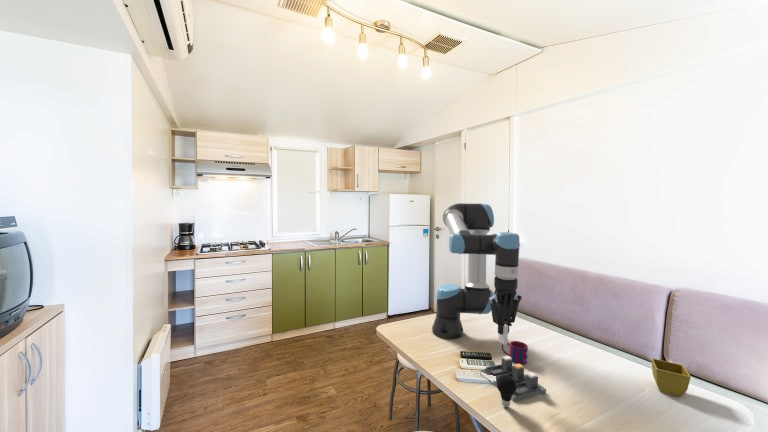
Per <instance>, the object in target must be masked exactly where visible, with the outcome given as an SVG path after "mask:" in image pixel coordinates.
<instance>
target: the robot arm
mask: <svg viewBox="0 0 768 432" xmlns="http://www.w3.org/2000/svg"><path fill="white" fill-rule="evenodd" d="M494 215H495V214H494V211H493V209H492V207H491V205H489V204H488V203H462V202H461V203H459V202H458V203H455V204H454V203H453V204H452V205H450V206H448V207H447V208H446V209H445V210H444V212H443V214H442V221H443V224H444V225H445V227H446V228H448V232H449V237H448V249H449V252H450V253H451V254H458V255H468V258H467V259H468V262H467V267H468V268H467V272H468V273H467V282H466V283H465V285H464V288H462V287H461V285H460V284H459V285H458V284H444V285H441V286H439V287H438V288H437V290H436V297H435V298H436V309H435V311H436V312H435V314H436V315H435V318H434V320H433V324H432V328H431V329H432V330H431V333H432V334H433V335H434V336H436V337H439V338H442V339H445V340H447V339H448V340H456V339H460V338H462V337H463V336H464V328H463V324H462V321H461V314H476V315H487V314H490V313H491V315H492V322H493V323H494V324H496V325H497V334H498V342H500V343H501V345H502V344H503V345H508V344H507V342H508V335H509V333H510V327H512V326H513V324H514V323H515V322H516V321H515V320H516V317H517V313H518V309H519V306H520V302H521V300H522V296H521V295H519V294H517V289H518V275H519V260H520V259H519V258H520V247H521V244H520V236H519V234H518V233H515V232H514V233H513V232H503V231H502V232H498V233H491V234H488V233H489V232H490V231H491V229H490V228H493V227H494V224H495V216H494ZM487 255H488V256H489V255H493V256H495V259H494V261H495V262H494V275H495V276H494V280H493V283H494V284H493V285H494V288H495V289H494V292H493V290H491V289H490V286H489V284H488V283H487Z"/></svg>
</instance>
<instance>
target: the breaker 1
mask: <svg viewBox="0 0 768 432" xmlns="http://www.w3.org/2000/svg"><path fill="white" fill-rule="evenodd" d="M500 364H501V368H503V369H504V370H510V369H512V366H513V360H512V358H511V357H509V356H508V355H505V356H502V357H501V363H500Z"/></svg>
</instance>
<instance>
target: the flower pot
mask: <svg viewBox="0 0 768 432" xmlns="http://www.w3.org/2000/svg"><path fill="white" fill-rule="evenodd" d="M651 370H652V371H651V372H652V375H653V379H654V382H655V384H656V386H657V388H658V390H659V392H660V393H661V394H665V395H670V396H674V397H677V398H681V397H683V396H684V395H685V394H686V392H687V391H688V390H689V389H688V388H689V384H690V381H691V374H690V373H689V372H688V370H687V369H686V367H685V366H684V365H683V364H679V363H677V362H676V363H675V362H671V361H666V360H662V359H657V358H651Z"/></svg>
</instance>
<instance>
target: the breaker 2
mask: <svg viewBox="0 0 768 432" xmlns="http://www.w3.org/2000/svg"><path fill="white" fill-rule="evenodd" d="M525 375H526V382H525V386H527V387H528V388H529V389H533V388H537V387H538V384H539V376H538V374H537V373H535V372H533V371H531V372H527V373H526V374H525Z"/></svg>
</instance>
